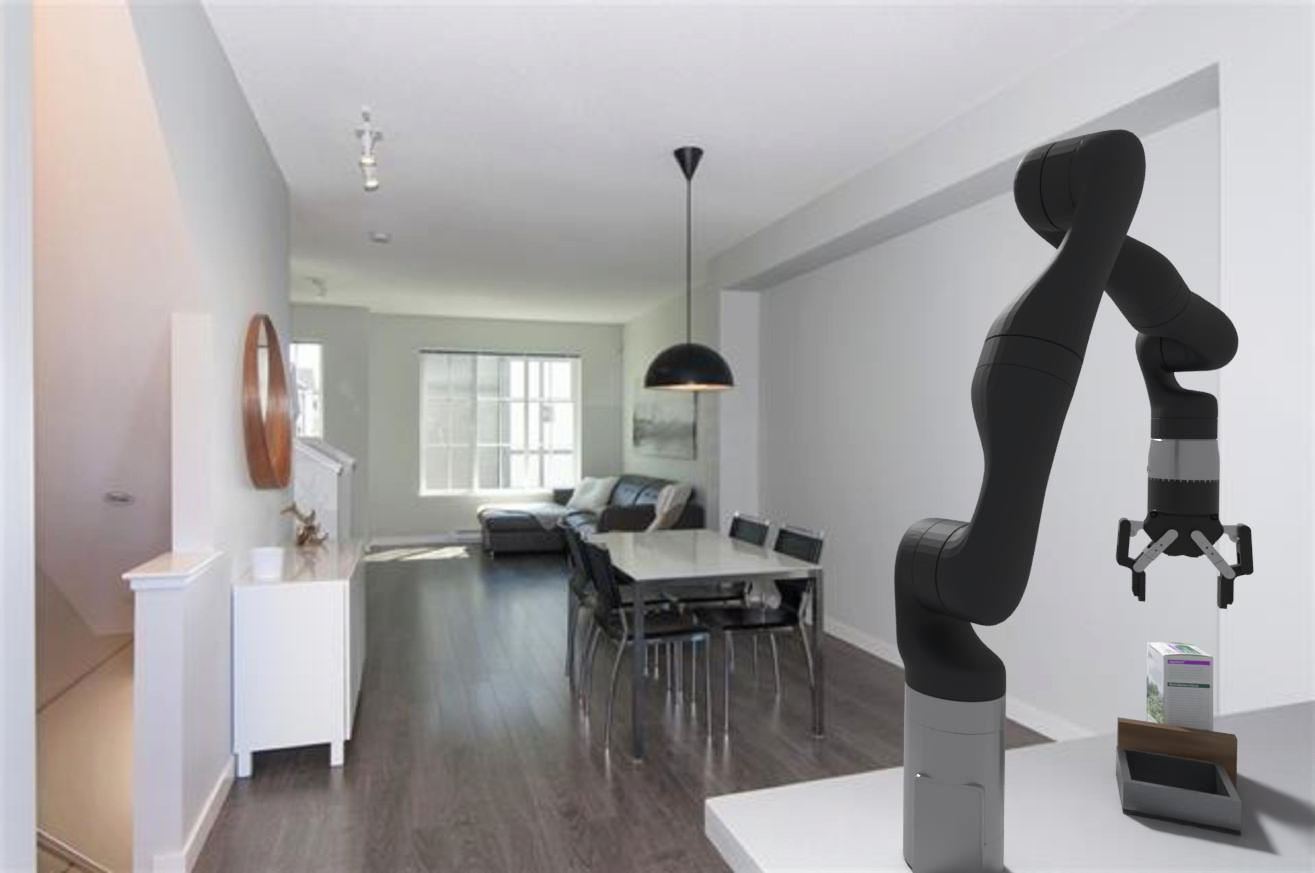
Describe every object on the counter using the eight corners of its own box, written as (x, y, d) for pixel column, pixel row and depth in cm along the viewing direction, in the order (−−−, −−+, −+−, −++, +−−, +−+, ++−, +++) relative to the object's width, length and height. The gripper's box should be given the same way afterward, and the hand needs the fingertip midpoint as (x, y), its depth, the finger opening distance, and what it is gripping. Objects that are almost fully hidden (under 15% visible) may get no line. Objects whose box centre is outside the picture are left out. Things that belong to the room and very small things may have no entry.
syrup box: (1215, 773, 97) (1217, 655, 97) (1161, 769, 98) (1163, 652, 98) (1193, 754, 103) (1195, 642, 102) (1143, 750, 104) (1145, 640, 103)
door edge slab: (1236, 790, 93) (1237, 739, 92) (1117, 769, 98) (1118, 721, 98) (1233, 784, 94) (1234, 734, 94) (1116, 764, 99) (1117, 717, 99)
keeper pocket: (1240, 835, 82) (1241, 802, 82) (1122, 812, 87) (1123, 781, 87) (1221, 792, 92) (1221, 762, 92) (1115, 774, 97) (1116, 745, 97)
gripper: (1119, 475, 99) (1118, 604, 100) (1260, 479, 93) (1257, 617, 93) (1115, 471, 106) (1113, 592, 106) (1246, 475, 100) (1244, 603, 100)
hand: (1181, 603), depth 100 cm, fingers open, 8 cm apart
